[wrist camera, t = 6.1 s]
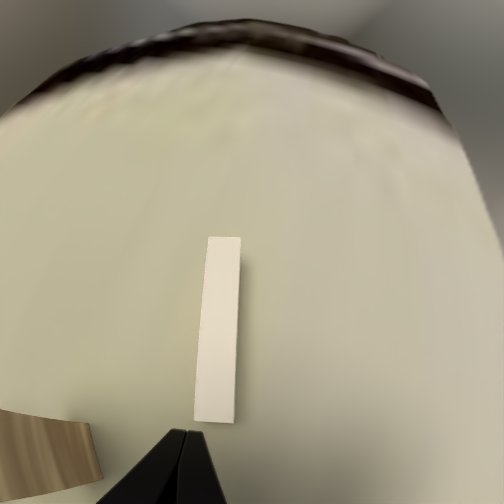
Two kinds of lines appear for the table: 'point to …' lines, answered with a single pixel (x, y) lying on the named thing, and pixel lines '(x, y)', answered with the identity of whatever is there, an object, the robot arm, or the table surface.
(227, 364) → the cream domino
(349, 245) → the table surface
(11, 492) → the maple domino
